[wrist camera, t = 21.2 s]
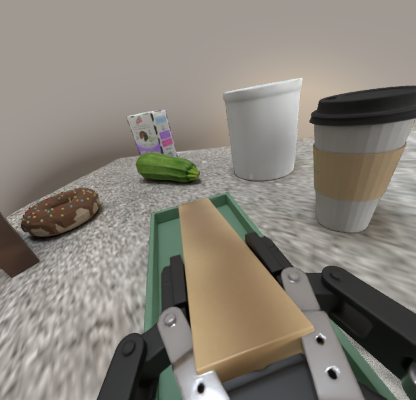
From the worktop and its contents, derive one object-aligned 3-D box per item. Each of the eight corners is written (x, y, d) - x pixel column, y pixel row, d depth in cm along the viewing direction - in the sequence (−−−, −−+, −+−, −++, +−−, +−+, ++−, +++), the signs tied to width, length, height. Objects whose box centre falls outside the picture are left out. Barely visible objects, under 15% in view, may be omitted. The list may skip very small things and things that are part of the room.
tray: (400, 441, 10) (419, 425, 9) (152, 566, 8) (128, 570, 7) (229, 205, 34) (227, 192, 32) (156, 226, 32) (150, 213, 31)
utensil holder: (313, 166, 42) (321, 72, 34) (259, 189, 37) (254, 86, 29) (266, 155, 54) (264, 84, 46) (221, 171, 49) (209, 95, 41)
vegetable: (141, 146, 53) (198, 146, 42) (156, 164, 59) (210, 168, 48) (126, 166, 50) (183, 171, 39) (143, 183, 56) (198, 191, 45)
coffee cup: (295, 203, 31) (300, 100, 24) (363, 199, 29) (390, 84, 22) (314, 244, 23) (330, 106, 16) (410, 242, 21) (478, 82, 14)
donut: (117, 206, 42) (107, 186, 40) (50, 249, 32) (31, 225, 30) (82, 200, 49) (72, 182, 47) (18, 233, 39) (1, 213, 37)
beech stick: (220, 444, 7) (195, 371, 6) (185, 230, 28) (178, 205, 27) (322, 401, 8) (314, 326, 7) (213, 222, 29) (207, 197, 28)
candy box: (179, 161, 64) (166, 108, 57) (166, 168, 61) (150, 111, 53) (155, 159, 73) (140, 112, 65) (142, 165, 69) (125, 116, 61)
